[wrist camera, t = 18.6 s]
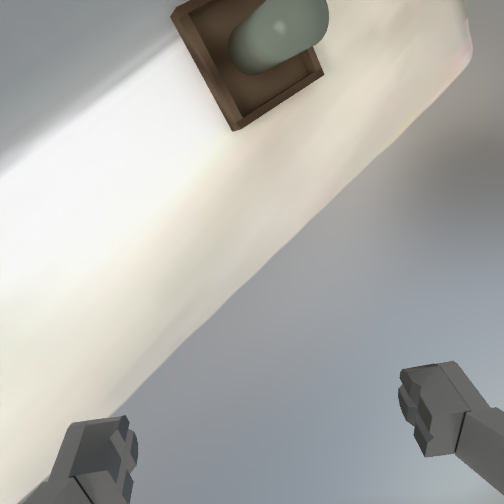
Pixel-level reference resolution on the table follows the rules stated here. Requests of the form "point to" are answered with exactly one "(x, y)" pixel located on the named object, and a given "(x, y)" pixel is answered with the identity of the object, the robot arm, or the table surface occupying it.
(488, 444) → the robot arm
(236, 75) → the walnut tray
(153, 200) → the table surface
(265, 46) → the sage ceramic canister
